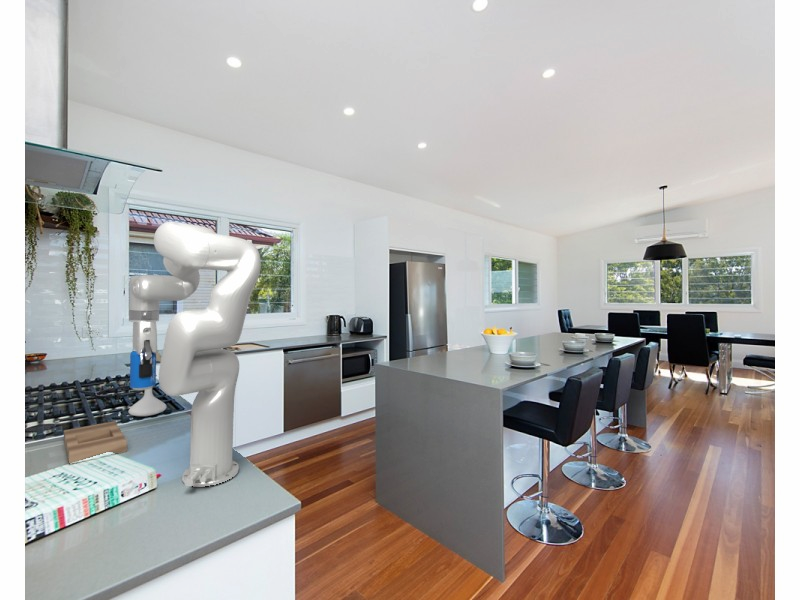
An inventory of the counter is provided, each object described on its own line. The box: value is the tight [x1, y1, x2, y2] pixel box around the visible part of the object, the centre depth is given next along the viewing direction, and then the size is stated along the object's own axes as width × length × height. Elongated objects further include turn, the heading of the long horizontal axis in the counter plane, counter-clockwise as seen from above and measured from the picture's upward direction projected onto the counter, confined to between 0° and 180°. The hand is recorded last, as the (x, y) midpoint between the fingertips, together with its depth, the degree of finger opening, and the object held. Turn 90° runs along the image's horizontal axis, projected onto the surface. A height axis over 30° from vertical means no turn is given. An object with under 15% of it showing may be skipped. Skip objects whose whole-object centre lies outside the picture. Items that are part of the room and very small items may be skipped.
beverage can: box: [129, 348, 157, 391], centre depth 112 cm, size 6×6×12 cm
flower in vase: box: [128, 349, 168, 417], centre depth 133 cm, size 13×11×25 cm
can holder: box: [63, 420, 128, 464], centre depth 105 cm, size 20×12×3 cm, turn 46°
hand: (143, 374), depth 112 cm, fingers closed on beverage can, 6 cm apart
